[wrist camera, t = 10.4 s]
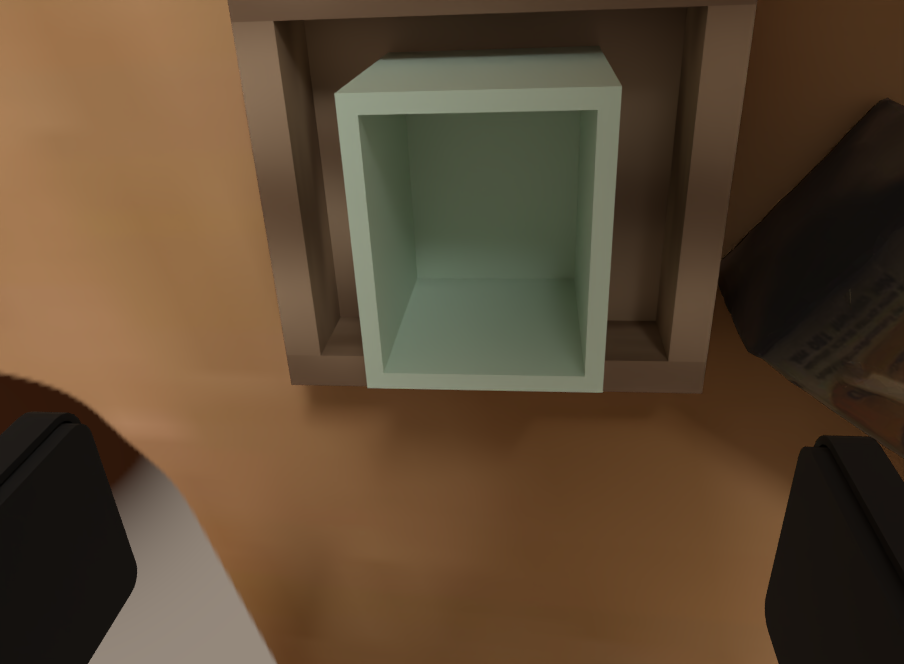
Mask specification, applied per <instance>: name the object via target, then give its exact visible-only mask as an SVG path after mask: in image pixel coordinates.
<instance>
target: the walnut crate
mask: <svg viewBox="0 0 904 664" xmlns="http://www.w3.org/2000/svg"><path fill="white" fill-rule="evenodd" d="M228 6H229V12H230V18H231V24H232V30H233V36H234V42H235V48H236V54H237V60H238V66H239V72H240V78H241V84H242V90H243V96H244V102H245V108H246V114H247V120H248V126H249V132H250V138H251V144H252V150H253V156H254V162H255V168H256V174H257V180H258V186H259V192H260V198H261V204H262V210H263V216H264V222H265V228H266V234H267V240H268V246H269V252H270V258H271V264H272V270H273V276H274V282H275V288H276V294H277V300H278V306H279V312H280V318H281V324H282V330H283V336H284V342H285V348H286V354H287V360H288V366H289V372H290V378H291V384H292V385H328V386H367V379H366V370H365V361H364V352H363V344H362V335H361V326H360V317H359V308H358V299H357V290H356V281H355V273H354V264H353V255H352V246H351V237H350V228H349V219H348V211H347V202H346V193H345V184H344V175H343V166H342V157H341V148H340V140H339V131H338V122H337V113H336V104H335V95H334V93H336V92H337V91H338V90H340V89H341V88H342V87H343V86H345V85H346V84H347V83H349V82H350V81H351V80H353V79H354V78H355V77H357V76H358V75H359V74H361V73H362V72H363V71H365V70H366V69H367V68H369V67H370V66H371V65H373V64H374V63H375V62H376V61H378V60H379V59H380V58H382V57H383V56H384V55H386V54H387V53H388V52H417V51H449V50H481V49H512V48H544V47H576V46H599V47H600V48H601V50H602V52H603V54H604V55H605V57H606V59H607V61H608V62H609V64H610V66H611V68H612V69H613V71H614V73H615V75H616V76H617V78H618V80H619V82H620V83H621V85H622V95H621V110H620V126H619V142H618V158H617V174H616V189H615V205H614V221H613V237H612V253H611V269H610V284H609V300H608V316H607V332H606V348H605V363H604V379H603V391H608V392H654V393H701V394H702V390H703V383H704V376H705V369H706V362H707V355H708V348H709V341H710V333H711V326H712V319H713V312H714V305H715V298H716V291H717V284H718V277H719V270H720V262H721V255H722V248H723V241H724V234H725V227H726V220H727V213H728V206H729V198H730V191H731V184H732V177H733V170H734V163H735V156H736V149H737V142H738V135H739V127H740V120H741V113H742V106H743V99H744V92H745V85H746V78H747V71H748V63H749V56H750V49H751V42H752V35H753V28H754V21H755V14H756V7H757V0H228Z"/></svg>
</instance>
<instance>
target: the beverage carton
mask: <svg viewBox="0 0 904 664" xmlns="http://www.w3.org/2000/svg"><path fill="white" fill-rule="evenodd" d="M718 286H719V288H720V291H721V293H722V296H723V297H724V301H725V304H726V306H727V308H728V311H729V312H730V314H731V316H732V319H733V322H734V324H735V327H736V329H737V331H738V334H739V335H740V337H741V339H742V341H743V343H744V345H745V347H746V349H747V351H748V352H749V353H751V354H753V355H755V356H757V357H759V358H762V359H763V360H764V361H766V362H767V363H768V364H769V365H771V366H772V367H773V368H774V369H775V370H777V371H778V372H779V373H780V374H782V375H783V376H784V377H785V378H787V379H788V380H789V381H790V382H792V383H793V384H795V385H797V386H798V387H800V388H801V389H803V390H804V391H806V392H807V393H809V394H810V395H812V396H813V397H814V398H816V399H817V400H818V401H820V402H821V403H823V404H824V405H825V406H827V407H828V408H829V409H831V410H832V411H834V412H835V413H837V414H838V415H840V416H841V417H843V418H844V419H845V420H847V421H848V422H850V423H851V424H853V425H854V426H856V427H857V428H859V429H860V430H862V431H863V432H865V433H866V434H867V435H869V436H870V437H872V438H874V439H875V440H876V441H878V442H879V443H881V444H882V445H884V446H885V447H887V448H888V449H890V450H892V451H893V452H895V453H897V454H898V455H899V456H901V457H902V458H904V106H903V105H901V104H898V103H896V102H894V101H892V100H891V99H889V98H886V99H883V100H881V101H879V102H878V103H877V104H876V105H875V106H874V107H873V108H872V109H871V110H870V111H869V112H868V113H867V114H866V115H865V116H864V117H863V118H862V119H861V120H860V121H859V122H858V123H857V124H856V125H855V126H854V127H853V128H852V129H851V130H850V131H849V132H848V134H847V135H846V136H845V137H844V138H843V139H842V140H841V141H840V142H839V144H838V145H837V146H836V147H835V148H834V149H833V150H832V151H831V153H829V154H828V155H827V156H826V157H825V158H824V159H823V160H822V161H821V162H820V163H819V164H818V165H817V166H816V167H815V168H814V169H813V170H812V171H811V172H810V173H809V174H808V175H807V176H806V177H805V178H804V179H803V180H802V181H801V182H800V184H799V185H798V186H797V187H796V188H795V189H794V190H793V191H791V192H790V193H789V194H788V195H787V196H786V197H784V198H783V199H782V200H781V201H780V202H779V203H778V204H777V205H776V206H775V207H774V209H773V210H772V211H771V212H770V213H769V214H768V215H767V216H766V217H765V218H764V220H763V221H761V222H760V223H759V224H758V225H757V226H756V227H755V228H754V229H752V230H751V231H750V232H749V234H748V235H747V236H746V237H745V238H744V240H743V241H742V242H741V243H740V244H739V245H738V246H737V247H736V248H734V249H733V250H732V251H731V252H730V253H729V254H728V255H727V256H726V257H725V258H724V259H723V260H721V262H720V270H719V277H718Z"/></svg>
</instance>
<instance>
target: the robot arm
mask: <svg viewBox="0 0 904 664" xmlns="http://www.w3.org/2000/svg"><path fill="white" fill-rule="evenodd" d="M136 578H137V565H136V561H135V558H134V555H133V553H132V550H131V547H130V544H129V541H128V538H127V535H126V532H125V529H124V526H123V523H122V520H121V517H120V514H119V512H118V509H117V506H116V503H115V500H114V497H113V494H112V491H111V488H110V485H109V482H108V479H107V476H106V474H105V471H104V468H103V465H102V462H101V459H100V456H99V453H98V450H97V448H96V444H95V441H94V438H93V436H92V433H91V431H90V429H89V428H88V427H87V426H86V425H84V424H81V423H80V420H79V419H78V418H77V417H76V416H75V415H74V414H70V413H58V412H29V413H25V414H24V415H22V416H21V417H19V418H18V419H17V420H16V421H15V422H14V423H13V424H12V425H11V426H10V427H8V428H7V429H6V431H4V432H3V433H2V434H1V435H0V664H88V663H89V661H90V659H91V658H92V656H93V654H94V653H95V651H96V650H97V648H98V646H99V645H100V643H101V641H102V640H103V638H104V637H105V635H106V633H107V632H108V630H109V628H110V627H111V625H112V624H113V622H114V620H115V619H116V617H117V615H118V614H119V612H120V611H121V609H122V607H123V606H124V604H125V602H126V601H127V599H128V597H129V596H130V594H131V592H132V590H133V588H134V586H135V583H136ZM765 618H766V624H767V628H768V632H769V635H770V638H771V641H772V644H773V647H774V651H775V654H776V657H777V660H778V663H779V664H904V482H903V480H902V479H901V477H900V476H899V474H898V472H897V471H896V469H895V468H894V466H893V465H892V463H891V462H890V460H889V458H888V457H887V455H886V454H885V452H884V451H883V449H882V448H881V446H880V445H879V443H878V442H877V441H876V440H875V439H874V438H871V437H862V436H828V435H823V436H820V437H819V438H818V439H817V441H816V443H815V445H814V447H803V448H802V449H801V451H800V454H799V457H798V461H797V465H796V469H795V474H794V478H793V482H792V487H791V491H790V495H789V500H788V504H787V508H786V512H785V517H784V521H783V525H782V530H781V534H780V538H779V542H778V547H777V551H776V555H775V560H774V564H773V568H772V573H771V577H770V581H769V585H768V590H767V594H766V599H765Z"/></svg>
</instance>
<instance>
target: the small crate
mask: <svg viewBox="0 0 904 664" xmlns="http://www.w3.org/2000/svg"><path fill="white" fill-rule="evenodd" d="M334 95H335V104H336V113H337V122H338V131H339V140H340V148H341V157H342V166H343V175H344V184H345V193H346V202H347V211H348V219H349V228H350V237H351V246H352V255H353V264H354V273H355V281H356V290H357V299H358V308H359V317H360V326H361V335H362V344H363V352H364V361H365V370H366V379H367V388H391V389H442V390H492V391H543V392H594V393H603V379H604V363H605V348H606V332H607V316H608V300H609V284H610V269H611V253H612V237H613V221H614V205H615V189H616V174H617V158H618V142H619V126H620V110H621V95H622V85H621V83H620V82H619V80H618V78H617V76H616V75H615V73H614V71H613V69H612V68H611V66H610V64H609V62H608V61H607V59H606V57H605V55H604V54H603V52H602V50H601V48H600V47H599V46H576V47H544V48H512V49H481V50H449V51H417V52H388V53H387V54H386V55H384V56H383V57H382V58H380V59H379V60H378V61H376V62H375V63H374V64H373V65H371V66H370V67H369V68H367V69H366V70H365V71H363V72H362V73H361V74H359V75H358V76H357V77H355V78H354V79H353V80H351V81H350V82H349V83H347V84H346V85H345V86H343V87H342V88H341V89H340V90H338V91H337V92H336V93H334Z"/></svg>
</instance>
